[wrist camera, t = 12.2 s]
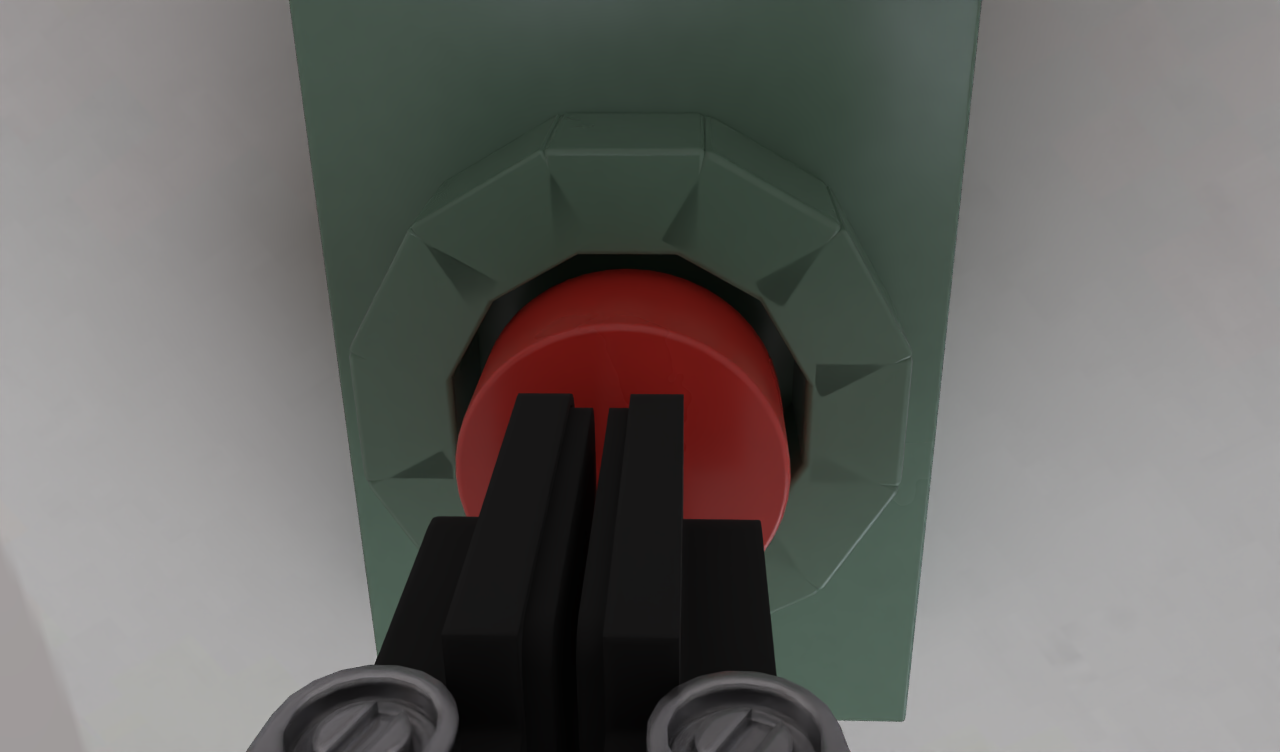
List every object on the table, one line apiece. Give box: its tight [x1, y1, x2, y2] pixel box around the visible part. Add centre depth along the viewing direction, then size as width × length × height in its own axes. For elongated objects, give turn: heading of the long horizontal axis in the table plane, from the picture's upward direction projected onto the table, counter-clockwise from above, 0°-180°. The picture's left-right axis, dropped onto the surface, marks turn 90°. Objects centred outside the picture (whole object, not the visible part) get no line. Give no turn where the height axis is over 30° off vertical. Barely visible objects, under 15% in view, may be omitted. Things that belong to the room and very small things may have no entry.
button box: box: [289, 0, 982, 722], centre depth 15 cm, size 12×8×4 cm, turn 1°
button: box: [455, 269, 791, 551], centre depth 13 cm, size 4×4×2 cm
